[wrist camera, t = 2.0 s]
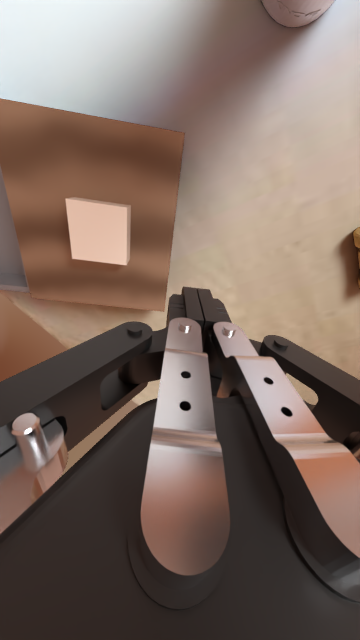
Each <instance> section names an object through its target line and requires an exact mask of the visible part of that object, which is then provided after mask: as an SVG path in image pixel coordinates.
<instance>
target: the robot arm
mask: <svg viewBox="0 0 360 640" xmlns="http://www.w3.org/2000/svg"><path fill="white" fill-rule="evenodd" d="M334 1H335V0H262V3H263V5H264V7H265V9H266V10H267V12H268V13H269V15H270V16H271V17H272V18H273V19H274V20H275V21H277V22H278V23H280V24H282V25H284V26H286V27H299V26H303V25H307V24H309V23H310V22H312V21H314V20H316V19H317V18H318V17H319V16H320V15H322V14H323V13H324V12H325V11H326V10H327V9H328V8H329V7H330V6H331V5H332V3H333V2H334ZM286 373H288V374H290V375H291V376H293V377H294V378H296V379H297V380H299V381H300V382H302V383H303V384H305V385H306V386H308V387H309V388H311V389H312V390H314V391H315V393H316V394H317V396H318V403H317V404H316V405H311V404H309V403H307V402H306V401H304V400H303V399H302V398H301V397H300V395H299V394H298V392H297V391H296V389H295V388H294V387H293V385H292V384H291V382H290V381H289V379H288V378H287V377H286ZM159 379H160V386H159V392H158V398H156V399H153V400H150V401H147V402H145V403H143V404H141V405H139V406H138V407H136V408H135V409H133V410H132V411H131V412H130V413H128V414H127V415H126V416H125V417H124V418H123V419H122V420H121V421H120V422H119V423H118V424H117V425H116V426H114V427H113V428H112V429H111V430H110V431H109V432H108V433H107V434H106V435H105V436H104V437H103V438H102V439H101V440H100V441H99V442H98V443H96V445H94V446H93V447H92V448H91V449H90V450H89V451H88V452H87V453H86V454H85V455H84V456H83V457H82V458H81V459H80V460H78V461H77V462H76V463H75V464H74V465H73V466H72V467H71V468H70V469H69V470H68V471H67V472H66V473H65V474H64V475H63V476H62V477H60V476H61V474H62V473H63V471H64V469H65V468H66V465H67V462H68V451H70V450H71V449H72V448H73V447H74V446H76V445H77V444H78V443H79V442H80V441H82V440H83V439H84V438H85V437H86V436H88V435H89V434H90V433H91V432H92V431H94V430H95V429H96V428H97V427H99V426H100V425H101V424H102V423H103V422H105V421H106V420H107V419H108V418H109V417H111V416H112V415H113V414H114V413H115V412H117V411H118V410H119V409H120V408H121V407H123V406H124V405H125V404H126V403H127V402H128V401H130V400H131V399H132V398H134V397H135V396H136V395H137V394H138V393H140V392H141V391H142V390H143V389H144V388H145V387H146V386H147V384H148V382H150V381H154V380H159ZM59 477H60V478H59ZM58 478H59V479H58ZM57 479H58V480H57ZM56 480H57V481H56ZM55 481H56V482H55ZM54 482H55V483H54ZM0 640H360V380H358V379H357V378H355V377H353V376H351V375H349V374H348V373H346V372H344V371H342V370H341V369H339V368H337V367H335V366H333V365H332V364H330V363H328V362H326V361H325V360H323V359H321V358H319V357H317V356H316V355H314V354H312V353H310V352H309V351H307V350H305V349H303V348H301V347H300V346H298V345H296V344H294V343H293V342H291V341H289V340H287V339H285V338H283V337H280V336H276V335H268V336H266V337H264V339H263V342H262V343H261V342H258V341H254V340H251V339H248V337H247V336H246V334H245V333H244V331H243V330H242V329H241V328H240V327H239V326H237V325H235V324H233V323H232V322H231V320H230V318H229V315H228V313H227V311H226V309H225V306H224V304H223V303H222V302H221V301H220V300H218V299H214V298H213V297H212V294H211V292H210V290H208V289H200V288H197V289H196V288H191V287H183V289H182V294H181V295H177V294H173V295H172V296H171V297H170V298H169V305H168V313H167V323H166V328H164V329H162V330H159V331H152V329H151V327H150V326H148V325H147V324H144V323H141V322H127V323H124V324H122V325H119V326H117V327H115V328H113V329H111V330H109V331H107V332H105V333H103V334H100V335H98V336H96V337H94V338H92V339H90V340H88V341H86V342H84V343H81V344H79V345H77V346H75V347H73V348H71V349H69V350H67V351H65V352H63V353H60V354H58V355H56V356H54V357H52V358H50V359H48V360H46V361H44V362H41V363H39V364H37V365H35V366H33V367H31V368H29V369H27V370H25V371H22V372H20V373H18V374H16V375H14V376H12V377H10V378H8V379H6V380H4V381H1V382H0Z"/></svg>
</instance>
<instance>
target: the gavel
mask: <svg viewBox="0 0 360 640" xmlns="http://www.w3.org/2000/svg"><path fill="white" fill-rule="evenodd" d="M353 235H354V244H355V246H356V247H358V257H359V267H360V227H358V228H357V229H356V230H355V231H354V232H353ZM358 283H359V289H360V275H359V276H358Z"/></svg>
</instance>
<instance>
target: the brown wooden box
mask: <svg viewBox="0 0 360 640" xmlns="http://www.w3.org/2000/svg"><path fill="white" fill-rule="evenodd" d="M184 135H185V133H182V132H177V131H172V130H166V129H161V128H155V127H150V126H145V125H139V124H134V123H129V122H123V121H118V120H113V119H107V118H102V117H97V116H91V115H86V114H81V113H75V112H70V111H64V110H59V109H54V108H48V107H43V106H38V105H32V104H27V103H22V102H16V101H11V100H6V99H0V166H1V170H2V175H3V179H4V183H5V188H6V192H7V196H8V200H9V205H10V209H11V213H12V217H13V222H14V226H15V230H16V235H17V239H18V243H19V247H20V252H21V256H22V260H23V264H24V269H25V273H26V277H27V281H28V286H29V290H30V294H31V298H36V299H45V300H55V301H65V302H75V303H85V304H95V305H104V306H114V307H124V308H134V309H144V310H154V311H163V312H164V308H165V300H166V291H167V282H168V274H169V265H170V256H171V248H172V239H173V230H174V222H175V213H176V204H177V196H178V187H179V178H180V170H181V161H182V152H183V144H184ZM73 197H77V198H83V199H90V200H97V201H103V202H110V203H117V204H124V205H130V206H131V225H130V260H129V261H128V263H127V265H120V264H111V263H103V262H95V261H87V260H78V259H72V252H71V243H70V235H69V226H68V217H67V209H66V200H65V199H66V198H73Z"/></svg>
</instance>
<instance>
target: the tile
mask: <svg viewBox="0 0 360 640" xmlns="http://www.w3.org/2000/svg"><path fill="white" fill-rule="evenodd" d="M65 200H66V209H67V217H68V226H69V235H70V243H71V252H72V259H78V260H87V261H95V262H103V263H111V264H120V265H127V263H128V261H129V260H130V225H131V206H130V205H124V204H117V203H110V202H103V201H97V200H90V199H83V198H77V197H73V198H66V199H65Z"/></svg>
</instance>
